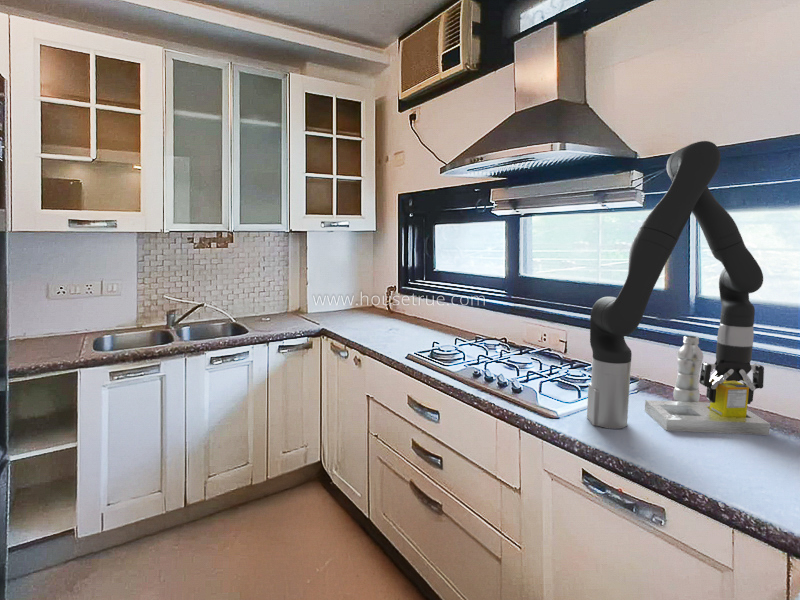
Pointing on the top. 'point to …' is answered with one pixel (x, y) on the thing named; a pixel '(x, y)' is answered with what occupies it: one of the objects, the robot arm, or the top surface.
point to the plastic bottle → (688, 371)
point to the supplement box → (731, 399)
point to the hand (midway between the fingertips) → (728, 402)
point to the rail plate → (702, 418)
